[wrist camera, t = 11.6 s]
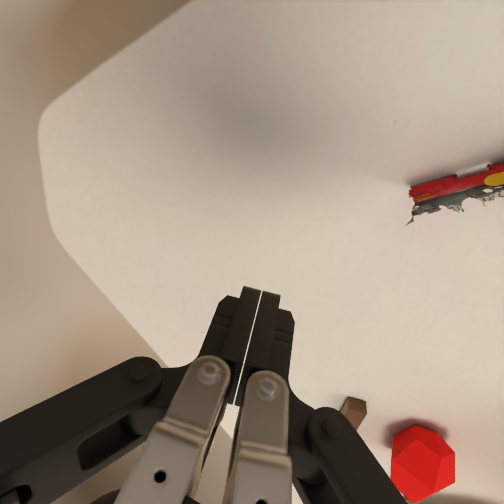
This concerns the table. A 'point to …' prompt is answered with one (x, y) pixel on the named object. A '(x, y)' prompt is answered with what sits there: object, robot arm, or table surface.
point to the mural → (457, 190)
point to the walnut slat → (354, 411)
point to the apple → (421, 463)
